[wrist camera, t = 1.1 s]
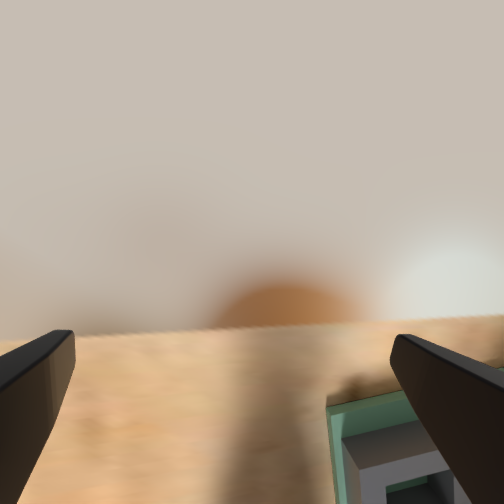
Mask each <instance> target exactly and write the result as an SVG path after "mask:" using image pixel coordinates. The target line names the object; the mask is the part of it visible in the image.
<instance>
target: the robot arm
mask: <svg viewBox="0 0 504 504" xmlns="http://www.w3.org/2000/svg"><path fill="white" fill-rule="evenodd" d="M75 361H76V356H75V336H74V333H73V331H72V330H54V331H51V332H50V333H47V334H45V335H43V336H41V337H39V338H37V339H35V340H33V341H31V342H29V343H27V344H25V345H23V346H20V347H18V348H16V349H14V350H12V351H10V352H8V353H6V354H4V355H2V356H0V504H17V502H18V500H19V498H20V496H21V494H22V491H23V489H24V487H25V485H26V483H27V481H28V479H29V477H30V475H31V473H32V471H33V469H34V467H35V465H36V462H37V460H38V458H39V456H40V454H41V452H42V450H43V448H44V446H45V444H46V442H47V440H48V438H49V435H50V433H51V431H52V429H53V427H54V424H55V422H56V419H57V416H58V413H59V411H60V408H61V405H62V402H63V399H64V396H65V393H66V390H67V388H68V385H69V382H70V379H71V376H72V373H73V370H74V367H75ZM390 365H391V367H392V369H393V371H394V373H395V375H396V377H397V379H398V381H399V383H400V385H401V387H402V389H403V391H404V393H405V395H406V397H407V399H408V401H409V403H410V405H411V407H412V408H413V410H414V412H415V414H416V416H417V417H418V419H419V421H420V422H421V424H422V425H423V427H424V429H425V430H426V432H427V433H428V435H429V436H430V438H431V440H432V441H433V443H434V444H435V446H436V448H437V449H438V451H439V452H440V454H441V456H442V457H443V459H444V460H445V462H446V464H447V465H448V467H449V468H450V470H451V472H452V473H453V475H454V476H455V478H456V480H457V481H458V483H459V484H460V486H461V488H462V489H463V491H464V492H465V494H466V496H467V497H468V499H469V500H470V502H471V503H472V504H504V372H503V371H501V370H498V369H496V368H493V367H491V366H488V365H486V364H484V363H481V362H479V361H476V360H474V359H471V358H469V357H466V356H464V355H461V354H459V353H456V352H454V351H451V350H449V349H446V348H444V347H441V346H439V345H436V344H434V343H432V342H429V341H427V340H424V339H422V338H419V337H417V336H414V335H411V334H399V335H397V336H396V338H395V341H394V344H393V348H392V352H391V355H390Z"/></svg>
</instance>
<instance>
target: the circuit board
mask: <svg viewBox="0 0 504 504" xmlns="http://www.w3.org/2000/svg"><path fill="white" fill-rule="evenodd" d="M498 370H501V371H503V372H504V367H502V368H498ZM326 414H327V423H328V433H329V442H330V452H331V461H332V471H333V480H334V490H335V499H336V504H347V497H346V487H345V477H344V467H343V456H342V446H341V438H345V437H349V436H353V435H357V434H362V433H366V432H370V431H374V430H378V429H382V428H386V427H391V426H395V425H399V424H403V423H407V422H411V421H415V420H419V419H418V417H417V416H416V414H415V412H414V410H413V408H412V407H411V405H410V403H409V401H408V399H407V397H406V395H405V393H404V391H403V390H401V391H397V392H392V393H388V394H384V395H379V396H375V397H370V398H366V399H362V400H357V401H353V402H348V403H344V404H340V405H335V406H331V407H326ZM424 483H427V475H426V476H422V477H418V478H414V479H411V480H407V481H403V482H399V483H396V484H392V485H388V486H386V494H387V493H391V492H394V491H398V490H402V489H405V488H409V487H413V486H417V485H420V484H424Z"/></svg>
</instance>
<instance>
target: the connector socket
mask: <svg viewBox="0 0 504 504" xmlns="http://www.w3.org/2000/svg"><path fill="white" fill-rule="evenodd" d="M341 446H342V456H343V467H344V477H345V487H346V497H347V504H472V503H471V502H470V500H469V499H468V497H467V496H466V494H465V492H464V491H463V489H462V488H461V486H460V484H459V483H458V481H457V480H456V478H455V476H454V475H453V473H452V472H451V470H450V468H449V467H448V465H447V464H446V462H445V460H444V459H443V457H442V456H441V454H440V452H439V451H438V449H437V448H436V446H435V444H434V443H433V441H432V440H431V438H430V436H429V435H428V433H427V432H426V430H425V429H424V427H423V425H422V424H421V422H420V421H419V420H415V421H411V422H407V423H403V424H399V425H395V426H391V427H386V428H382V429H378V430H374V431H370V432H366V433H362V434H357V435H353V436H349V437H345V438H341ZM426 475H427V483H424V484H420V485H417V486H413V487H409V488H405V489H402V490H398V491H394V492H391V493H387V494H386V486H388V485H392V484H396V483H399V482H403V481H407V480H411V479H414V478H418V477H422V476H426Z"/></svg>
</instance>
